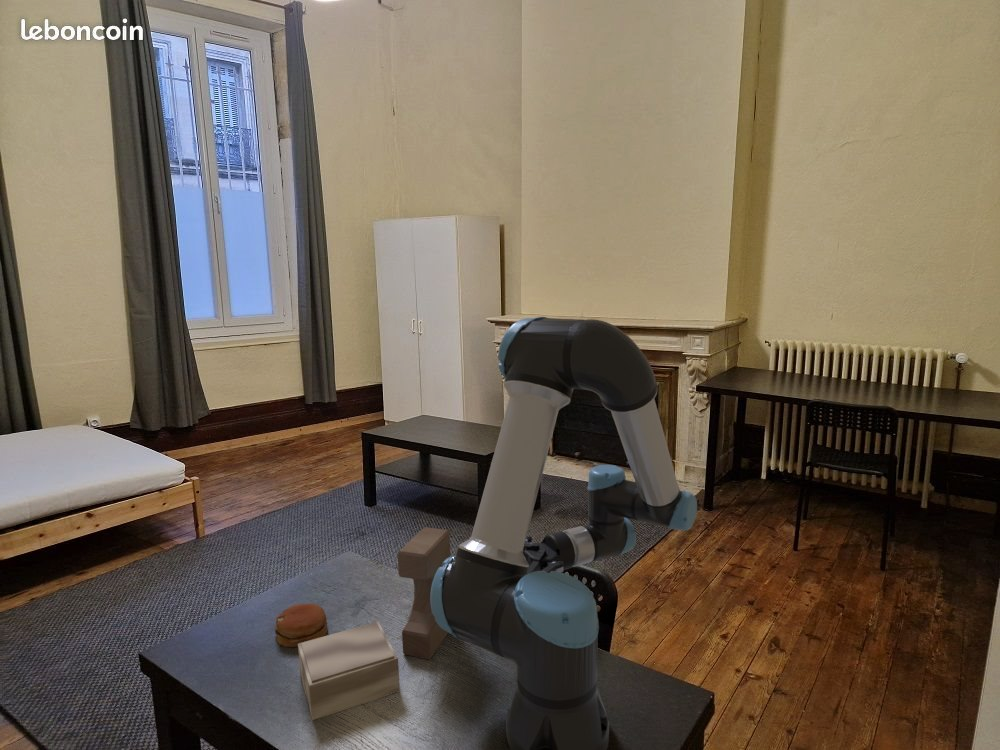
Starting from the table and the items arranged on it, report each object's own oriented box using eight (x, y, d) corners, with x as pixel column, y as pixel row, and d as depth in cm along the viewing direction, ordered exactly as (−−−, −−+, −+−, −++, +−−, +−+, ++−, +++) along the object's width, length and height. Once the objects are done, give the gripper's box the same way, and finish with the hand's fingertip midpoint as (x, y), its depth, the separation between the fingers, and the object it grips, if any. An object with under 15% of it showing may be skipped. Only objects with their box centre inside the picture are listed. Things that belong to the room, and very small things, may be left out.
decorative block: (429, 661, 108) (424, 555, 105) (401, 655, 110) (395, 551, 107) (454, 626, 119) (451, 529, 115) (428, 621, 121) (423, 525, 117)
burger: (336, 633, 118) (335, 611, 117) (290, 655, 111) (288, 632, 110) (311, 614, 124) (310, 593, 124) (267, 634, 118) (265, 611, 117)
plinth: (399, 691, 101) (397, 656, 100) (312, 720, 95) (309, 683, 94) (380, 651, 111) (378, 619, 110) (300, 675, 105) (297, 642, 104)
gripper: (602, 594, 115) (501, 625, 106) (537, 542, 137) (448, 564, 128) (602, 557, 114) (500, 585, 105) (536, 510, 136) (447, 530, 127)
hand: (471, 573), depth 117 cm, fingers open, 13 cm apart
